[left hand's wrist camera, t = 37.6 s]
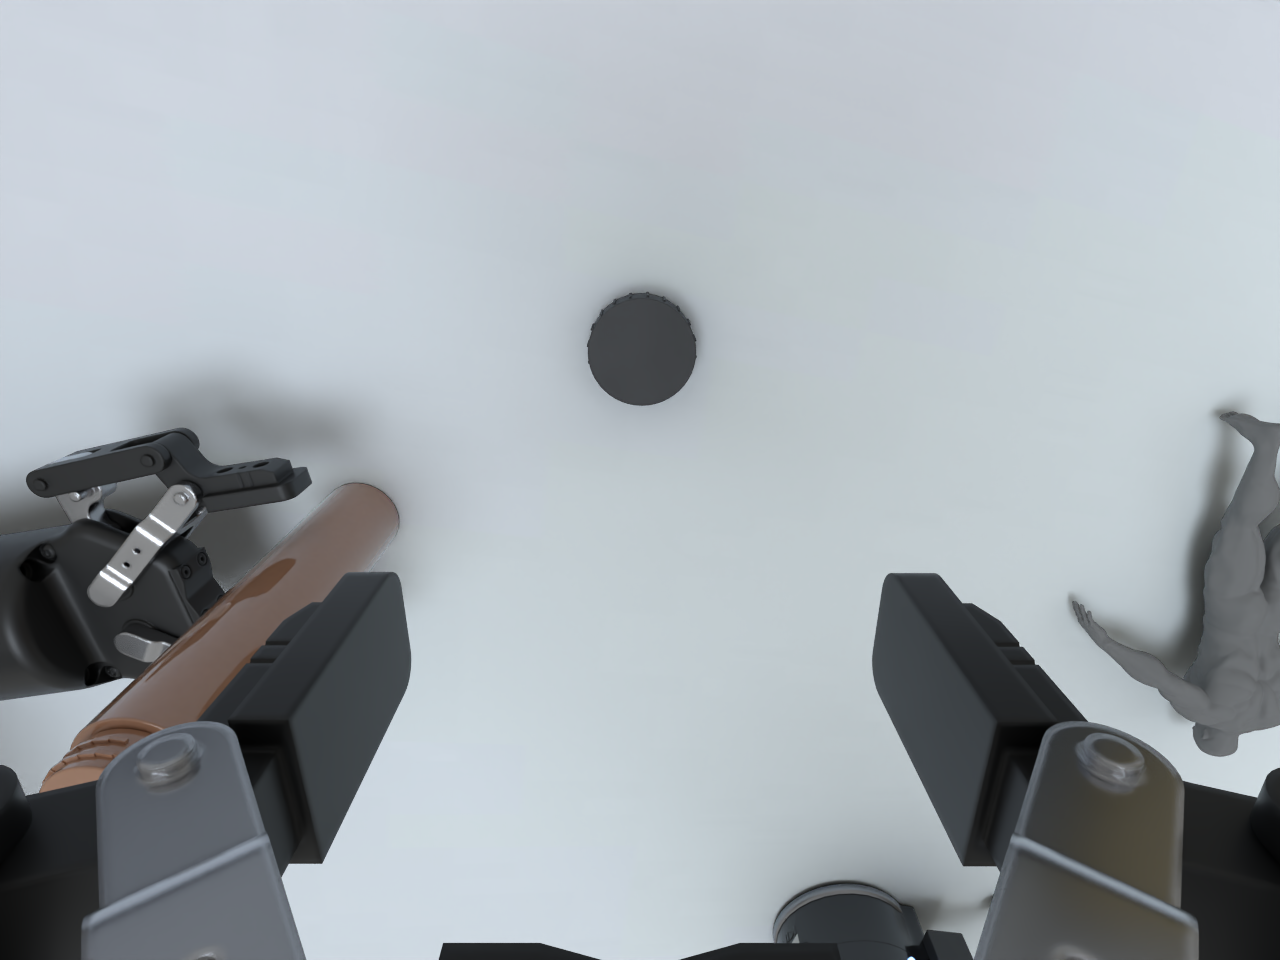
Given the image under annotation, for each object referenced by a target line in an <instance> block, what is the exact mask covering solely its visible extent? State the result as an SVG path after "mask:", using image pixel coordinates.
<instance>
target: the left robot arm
mask: <svg viewBox="0 0 1280 960" xmlns="http://www.w3.org/2000/svg"><path fill="white" fill-rule="evenodd" d="M1034 661H1035V660H1034V659H1033V658H1032V657H1031V656H1030V654H1029V653H1028V652H1027V651H1026V650H1025V649H1024V648H1023V647H1020V646H1019V642H1018V641H1017V640H1016V638H1015V637H1014V636H1013V635H1012V634H1011V633H1010V632H1009V630H1008V629H1007V628H1006V627H1005V626H1004V625H1003V623H1002V622H1001V621H999V620H998V619H996V618H994V617H993V616H991V615H990V614H988V613H987V612H985V611H983V610H982V609H980V608H979V607H977V606H975V605H974V604H972V603H962V602H961V601H960V600H959V599H958V597H957V596H956V595H955V594H954V593H953V591H952V590H951V589H950V588H949V586H948V585H947V584H946V583H945V581H944V580H943V579H942V578H941V577H940V576H939V575H938V574H935V573H890V574H888V575H887V576H886V578H885V580H884V583H883V587H882V593H881V600H880V607H879V614H878V620H877V627H876V634H875V641H874V647H873V656H872V667H873V676H874V681H875V685H876V689H877V691H878V694H879V696H880V698H881V700H882V702H883V704H884V706H885V708H886V710H887V712H888V714H889V716H890V718H891V720H892V722H893V724H894V726H895V728H896V730H897V732H898V735H899V737H900V739H901V741H902V743H903V745H904V747H905V749H906V751H907V753H908V755H909V757H910V759H911V761H912V763H913V765H914V767H915V769H916V771H917V773H918V775H919V777H920V779H921V781H922V783H923V786H924V788H925V790H926V792H927V794H928V796H929V798H930V800H931V802H932V804H933V806H934V808H935V810H936V812H937V814H938V816H939V818H940V820H941V822H942V824H943V826H944V828H945V830H946V832H947V834H948V837H949V839H950V841H951V843H952V845H953V847H954V849H955V851H956V853H957V855H958V857H959V859H960V861H961V863H962V865H963V866H997V867H998V869H999V871H1000V876H999V879H998V882H997V885H996V889H995V892H994V895H993V899H992V902H991V905H990V907H989V912H988V915H987V918H986V921H985V925H984V928H983V931H982V935H981V938H980V941H979V944H978V948H977V951H976V954H975V957H974V960H1280V768H1277V769H1275V770H1273V771H1271V772H1270V773H1269V774H1268V775H1267V777H1266V779H1265V782H1264V784H1263V786H1262V789H1261V791H1260V793H1259V796H1258V798H1256V797H1252V796H1247V795H1243V794H1238V793H1234V792H1229V791H1225V790H1220V789H1216V788H1211V787H1207V786H1202V785H1198V784H1193V783H1189V782H1185V781H1182V779H1181V776H1180V775H1179V773H1178V772H1177V770H1176V769H1175V768H1174V766H1173V765H1172V764H1171V763H1170V762H1169V761H1168V760H1167V759H1166V758H1165V757H1164V756H1163V755H1161V754H1160V753H1159V752H1158V751H1156V750H1155V749H1154V748H1152V747H1151V746H1149V745H1148V744H1146V743H1144V742H1143V741H1141V740H1139V739H1137V738H1135V737H1133V736H1131V735H1129V734H1127V733H1125V732H1122V731H1120V730H1117V729H1114V728H1111V727H1108V726H1105V725H1101V724H1096V723H1091V722H1088V721H1087V720H1086V719H1085V718H1084V716H1083V715H1082V714H1081V713H1080V712H1079V711H1078V710H1077V708H1076V707H1075V706H1074V705H1073V704H1072V703H1071V702H1070V700H1069V699H1068V698H1067V697H1066V696H1065V695H1064V694H1063V692H1062V691H1061V690H1060V689H1059V688H1058V687H1057V685H1056V684H1055V683H1054V682H1053V681H1052V680H1051V679H1050V677H1049V676H1048V675H1047V674H1046V673H1045V672H1044V671H1043V669H1042V668H1041V667H1040V666H1039V665H1035V662H1034ZM410 671H411V650H410V643H409V636H408V629H407V622H406V615H405V609H404V602H403V595H402V588H401V583H400V580H399V577H398V576H397V574H396V573H394V572H348V573H346V574H345V575H344V576H343V577H342V578H341V579H340V580H339V582H338V583H337V584H336V585H335V587H334V588H333V589H332V590H331V592H330V593H329V594H328V595H327V597H326V598H325V599H324V600H323V602H312V603H310V604H308V605H307V606H305V607H304V608H302V609H300V610H299V611H297V612H296V613H294V614H293V615H291V616H289V617H288V618H286V619H285V620H283V621H282V623H281V624H280V625H279V626H278V627H277V628H276V630H275V631H274V632H273V633H272V634H271V635H270V637H269V638H268V639H267V640H266V644H265V645H262V646H261V647H260V648H259V649H258V650H257V652H256V653H255V654H254V655H253V656H252V657H251V659H250V663H246V664H245V665H244V667H243V668H242V669H241V670H240V671H239V672H238V674H237V675H236V676H235V677H234V678H233V679H232V681H231V682H230V683H229V684H228V685H227V686H226V687H225V689H224V690H223V691H222V692H221V693H220V694H219V696H218V697H217V698H216V699H215V700H214V701H213V703H212V704H211V705H210V706H209V707H208V708H207V710H206V711H205V712H204V713H203V714H202V715H201V716H200V718H199V719H198V720H197V721H196V722H189V723H184V724H179V725H175V726H172V727H169V728H166V729H163V730H160V731H158V732H155V733H153V734H151V735H149V736H147V737H145V738H143V739H141V740H139V741H137V742H136V743H134V744H132V745H131V746H129V747H128V748H126V749H125V750H124V751H122V752H121V753H120V754H119V755H117V756H116V757H115V758H114V759H113V760H112V761H111V762H110V763H109V764H108V765H107V766H106V768H105V769H104V770H103V772H102V773H101V775H100V776H99V779H98V780H96V781H91V782H87V783H82V784H78V785H73V786H68V787H64V788H59V789H55V790H50V791H46V792H41V793H37V794H32V795H28V796H25V794H24V792H23V789H22V787H21V785H20V782H19V780H18V778H17V775H16V773H15V772H14V771H13V770H12V769H11V768H9V767H6V766H4V765H0V960H306V957H305V954H304V951H303V948H302V944H301V941H300V938H299V935H298V931H297V928H296V925H295V921H294V918H293V915H292V912H291V908H290V905H289V902H288V899H287V895H286V892H285V889H284V885H283V882H282V879H281V877H282V875H283V873H284V871H285V870H286V868H287V866H288V864H322V863H323V861H324V859H325V857H326V855H327V852H328V850H329V848H330V846H331V844H332V842H333V840H334V838H335V836H336V834H337V832H338V830H339V828H340V826H341V824H342V822H343V819H344V817H345V815H346V813H347V811H348V809H349V807H350V805H351V803H352V801H353V799H354V797H355V795H356V793H357V791H358V788H359V786H360V784H361V782H362V780H363V778H364V776H365V774H366V772H367V770H368V768H369V766H370V764H371V762H372V760H373V758H374V755H375V753H376V751H377V749H378V747H379V745H380V743H381V741H382V739H383V737H384V735H385V733H386V731H387V729H388V727H389V724H390V722H391V720H392V718H393V716H394V714H395V712H396V710H397V708H398V706H399V704H400V702H401V700H402V698H403V696H404V694H405V691H406V689H407V686H408V682H409V677H410ZM773 939H774V943H738V944H735V945H731V946H728V947H724V948H720V949H717V950H713V951H709V952H706V953H702V954H699V955H695V956H691V957H688V958H684V959H680V960H973V958H972V956H971V953H970V951H969V949H968V947H967V944H966V942H965V940H964V938H963V935H962V934H961V933H953V932H943V931H934V930H927V931H926V933H925V935H924V933H923V931H922V928H921V926H920V923H919V921H918V918H917V915H916V913H915V910H914V908H913V907H911V906H904V905H900V904H898V902H897V901H896V900H895V899H893V898H892V897H891V896H889V895H888V894H886V893H884V892H883V891H880V890H878V889H876V888H872V887H869V886H864V885H858V884H836V885H829V886H824V887H821V888H817V889H814V890H811V891H809V892H807V893H805V894H803V895H801V896H799V897H797V898H796V899H794V900H793V901H792V902H790V903H789V904H788V905H787V906H786V907H785V908H784V909H783V910H782V912H781V913H780V914H779V916H778V918H777V919H776V922H775V925H774V929H773ZM439 960H600V959H596V958H592V957H589V956H585V955H581V954H578V953H574V952H571V951H567V950H563V949H560V948H556V947H552V946H549V945H545V944H542V943H443V946H442V949H441V953H440V957H439Z"/></svg>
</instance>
